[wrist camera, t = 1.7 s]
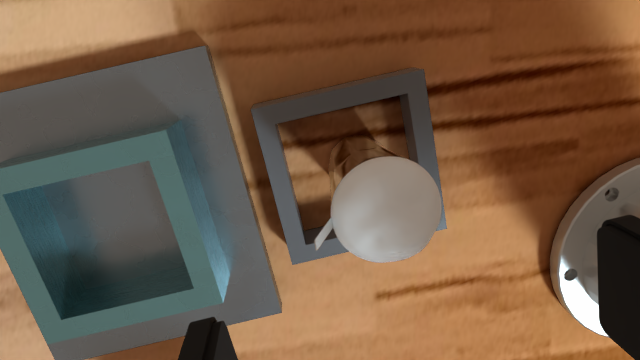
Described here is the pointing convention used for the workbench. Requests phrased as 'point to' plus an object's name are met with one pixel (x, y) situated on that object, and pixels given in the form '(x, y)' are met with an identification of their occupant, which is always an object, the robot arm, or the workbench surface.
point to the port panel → (129, 206)
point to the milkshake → (379, 202)
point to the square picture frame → (329, 99)
